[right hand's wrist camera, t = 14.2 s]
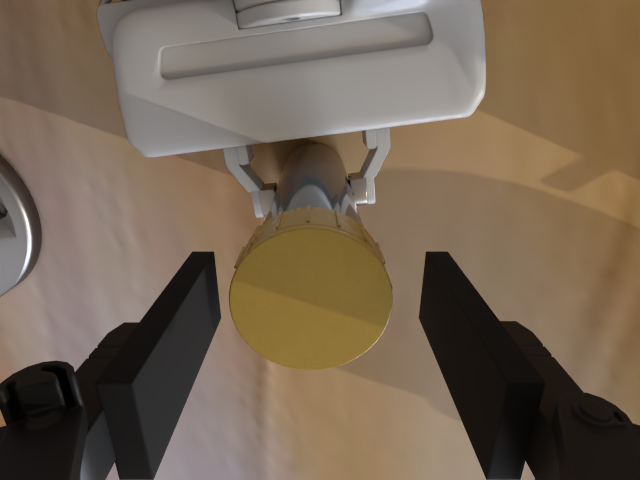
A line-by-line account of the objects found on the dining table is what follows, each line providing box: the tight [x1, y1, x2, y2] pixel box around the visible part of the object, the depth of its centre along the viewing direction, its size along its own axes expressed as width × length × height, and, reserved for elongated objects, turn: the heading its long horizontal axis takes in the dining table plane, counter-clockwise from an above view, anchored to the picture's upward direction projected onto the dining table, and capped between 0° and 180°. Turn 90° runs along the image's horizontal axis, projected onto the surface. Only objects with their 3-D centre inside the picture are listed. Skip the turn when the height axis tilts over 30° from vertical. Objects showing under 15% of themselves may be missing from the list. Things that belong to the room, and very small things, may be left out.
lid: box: [229, 205, 393, 370], centre depth 14 cm, size 6×6×2 cm
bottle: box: [263, 143, 362, 224], centre depth 22 cm, size 5×5×19 cm
